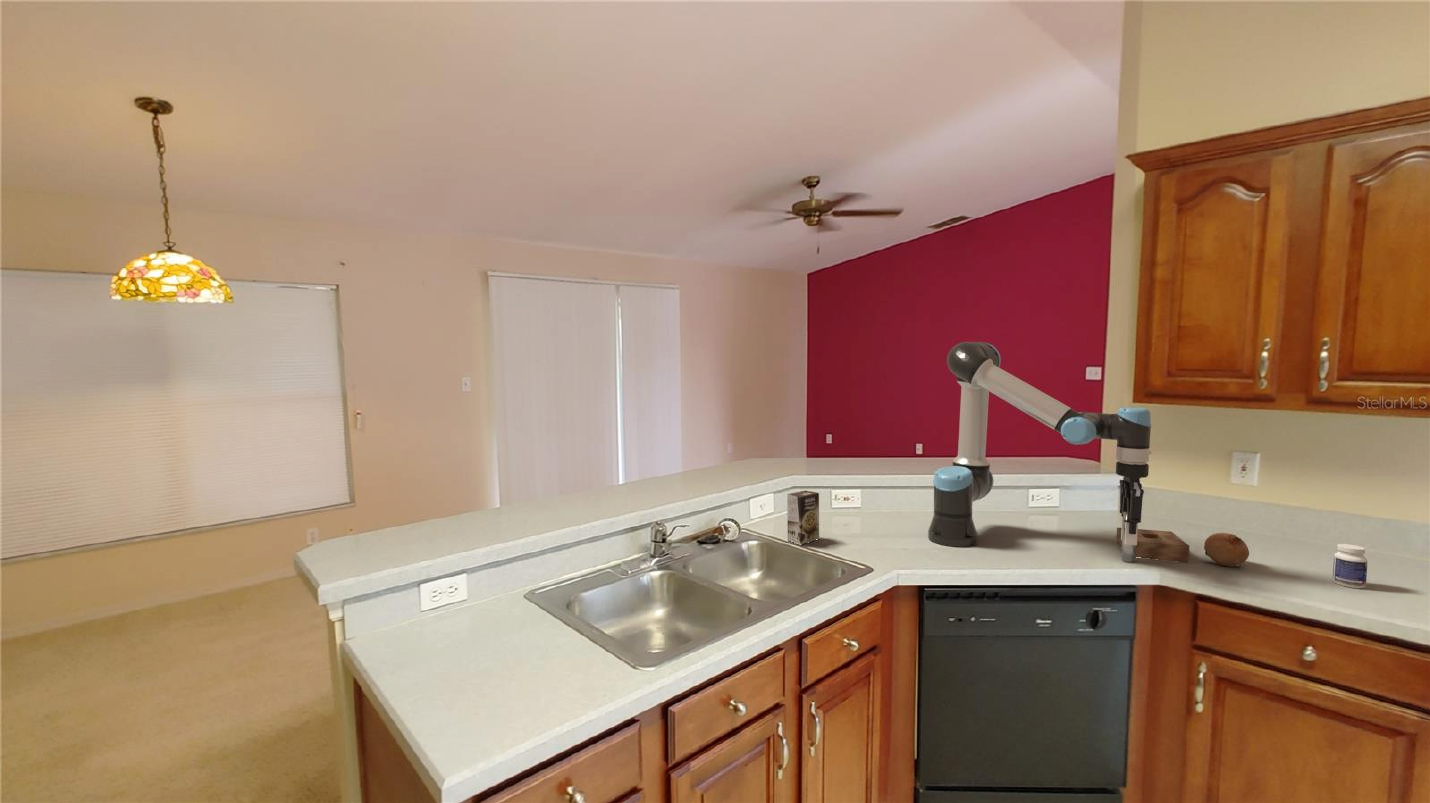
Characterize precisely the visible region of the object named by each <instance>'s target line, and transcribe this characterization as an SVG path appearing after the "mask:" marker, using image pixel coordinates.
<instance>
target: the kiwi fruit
mask: <svg viewBox="0 0 1430 803" xmlns="http://www.w3.org/2000/svg"><path fill="white" fill-rule="evenodd" d="M1203 550H1204V551H1205V552H1204V554H1205V556H1207V557H1208V558H1209V559H1210V560H1211V561H1212V562H1214V563H1215V564H1217V565H1221V566H1223V567H1224V566H1225V567H1237V566H1238V567H1239V566H1241V565H1242V564H1244V563H1245V562H1246V561H1247V560H1248V558H1249V556H1250V550H1249V548H1248V545H1247V544H1246V543H1245V541H1244V540H1243V539H1242V538H1240V537H1239V536H1237V535H1235V534H1233V533H1228V532H1227V533H1226V532H1216V533H1213V534H1210V535H1209V536H1208V537H1207V538H1206V539H1205V540H1204V544H1203Z"/></svg>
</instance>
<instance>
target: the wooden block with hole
mask: <svg viewBox="0 0 1430 803" xmlns="http://www.w3.org/2000/svg"><path fill="white" fill-rule="evenodd" d="M1121 528H1122V527H1116V544H1117V545H1118V546H1119V547H1120V548H1122V540H1121ZM1136 557H1141V558H1150V559H1149V560H1151V559H1158V560H1157V561H1162V560H1166V561H1165V562H1173V561H1178V562H1177V563H1184V562H1187V564H1188V563H1189V561H1190V560H1189V559H1190V544H1188V543H1187V542H1186V541H1184V540H1183V539H1182V538H1180V537H1179V536H1177V534H1176V533H1174V532H1173V531H1170V530H1167V531H1166V530H1154V529H1153V530H1152V529H1143V528H1142V529H1141V528H1138V532H1137V549H1136Z"/></svg>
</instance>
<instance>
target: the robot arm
mask: <svg viewBox="0 0 1430 803" xmlns="http://www.w3.org/2000/svg"><path fill="white" fill-rule="evenodd" d="M1001 361H1002V359H1001V354H1000V352H999V351H998V349H997V348H996V347H995V346H994V345H993V344H990V343H988V342H984V341H982V342H981V341H963V342H960V343H957V344H955V345H954V346H953V347H952V348H951V349H950V350H949V352H948V354H947V358H946V363H947V366H948V369H949V371H950V372H951V373H952V374H953V375H954V376H956V377H957V378H956V383H958V384H959V386H960V387H961V391H960V392H961V393H960V411H959V425H958V426H959V429H958V446H957V447H958V449H957V456H956V457H955V458H954V459H953V460H952V465H948V466H942V467H940V468H938V469H936V470H935V471H934V473H933V474H934V475H933V476H934V477H933V482H932V483H933V517H932V519H931V522H930V525H929V527H928V532H927V538H928V539H929V540H930V541H931V542H933V543H935V544H938V545H941V546H949V547H960V548H961V547H962V548H963V547H971V546H975V545H977V544H978V542H979V534H978V531H977V529H976V525H975V522H974V519H973V502H975V501H979V500H981V499H983V498H985V497H986V496H987V495H988V494H989V493H991V490H992V489H993V486H994V476H993V474H992V472H991V471H990V469H991V468H990V467H991V463H990V462H989V460H988V459H987V458H986V451H987V435H988V434H987V431H988V418H989V416H988V415H989V400H990V399H989V398H990V393H991V394H993V395H995V396H996V397H998V398H999V399H1001V400H1003V401H1005V402H1007V403H1008V404H1010V405H1012V406H1013V407H1015V408H1016V409H1018V410H1020V411H1021V412H1023V413H1025V414H1026V415H1028V416H1030V417H1032V418H1034V419H1035V420H1038V421H1039V422H1040V423H1042V424H1043V425H1045V426H1047V427H1049V428H1051V429H1052V430H1054V431H1056V432H1057V433H1058V434H1061V436H1062V438H1063V439H1064V440H1065V441H1066V442H1067V443H1069V444H1071V445H1079V446H1080V445H1086V444H1088V443H1090V442H1092V441H1093V440H1096V439H1098V440H1100V439H1101V440H1110V441H1113V440H1114V441H1116V453H1115V454H1116V455H1115V456H1116V457H1115V459H1116V460H1117V461H1116V462H1115V463H1116V464H1115V474H1116V475H1118V476H1119V477H1123V478H1122V479H1119V513H1120V515H1121V527H1120V528H1121V540H1122V533H1123V512H1124V511H1127V520H1124V522H1126V526H1125V544H1127V545H1137V532H1138V529H1139V524H1140V523H1142V514H1143V513H1142V512H1143V511H1142V510H1143V497H1144V493H1145V490H1144V489H1143V485H1142V483H1141V478H1143V479H1144V478H1148V477H1149V472H1150V471H1149V470H1150V469H1149V468H1150V467H1149V466H1150V465H1149V464H1148V462H1149V461H1150V455H1152V451H1151V450H1150V448H1151V447H1150V446H1151V445H1150V443H1151V429H1152V424H1151V411H1150V410H1149V409H1147V408H1145V407H1136V406H1135V407H1134V406H1133V407H1131V406H1130V407H1129V406H1127V407H1120V408H1119V409H1118V411H1117V413H1100V412H1087V411H1081V412H1079V411H1076V410H1074V409H1073V408H1072V407H1069V406H1068V405H1066V404H1064V403H1063V402H1061V401H1059V400H1057V399H1056V398H1054V397H1052V396H1050V395H1048V394H1046V393H1045V392H1043V391H1042V390H1039V389H1038V388H1036V387H1034V386H1032V385H1031V384H1029V383H1027V382H1026V381H1023V380H1022V379H1020V378H1019V377H1016V376H1015V375H1013V374H1011V373H1009V372H1007V371H1006V370H1004V369H1002V368H1001V367H1000V366H1001Z"/></svg>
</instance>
